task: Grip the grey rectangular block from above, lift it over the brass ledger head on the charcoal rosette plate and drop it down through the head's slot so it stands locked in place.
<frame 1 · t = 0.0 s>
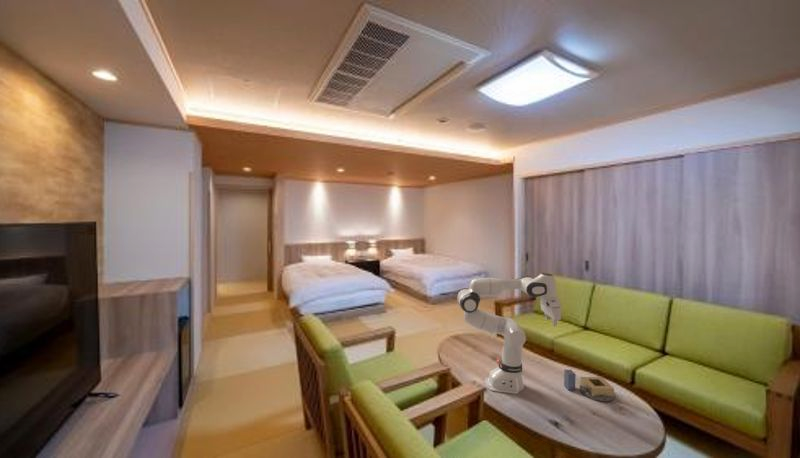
hand: (551, 322, 185), 39 cm above the table, tool pointing down, fingers open, 8 cm apart
rosette plate: (596, 392, 179), on the table
grey rectangular block: (569, 388, 184), on the table
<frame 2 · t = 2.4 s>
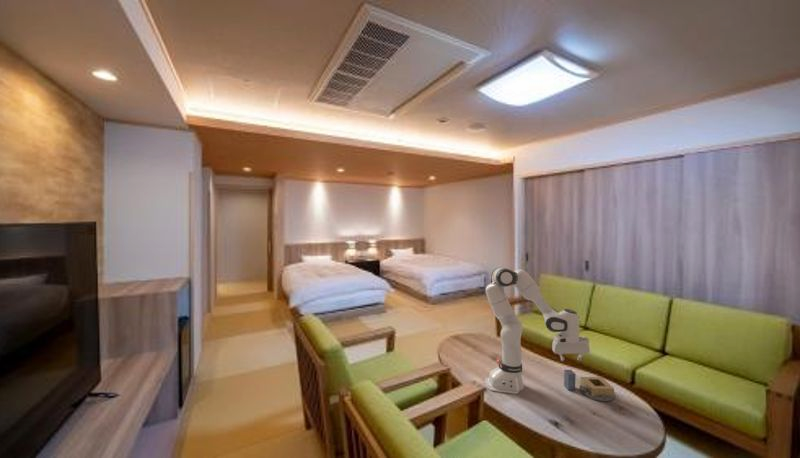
hand: (570, 360, 183), 17 cm above the table, tool pointing down, fingers open, 8 cm apart
nothing on the table moved.
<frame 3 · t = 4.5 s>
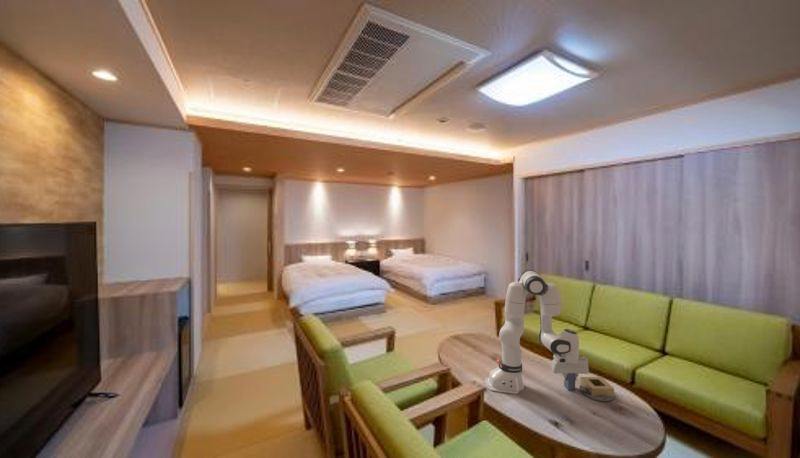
hand: (569, 379, 184), 5 cm above the table, tool pointing down, fingers closed on grey rectangular block, 4 cm apart
grey rectangular block: (569, 388, 184), on the table, touching gripper
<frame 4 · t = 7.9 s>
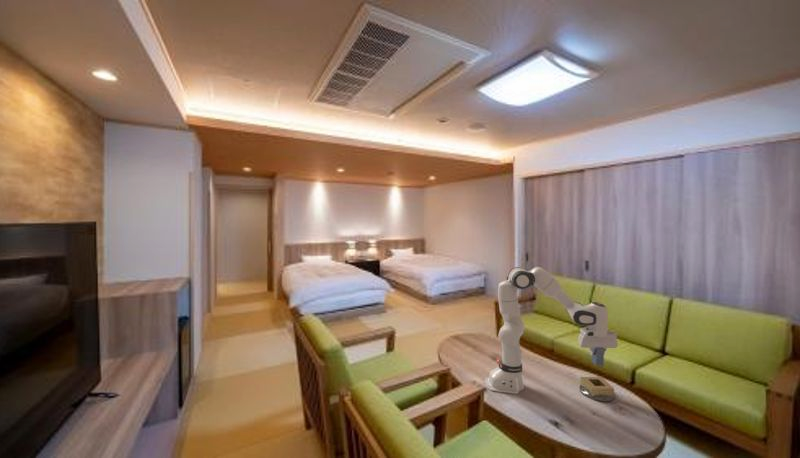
hand: (597, 354, 178), 23 cm above the table, tool pointing down, fingers closed on grey rectangular block, 4 cm apart
grey rectangular block: (597, 363, 178), point 18 cm above the table, touching gripper
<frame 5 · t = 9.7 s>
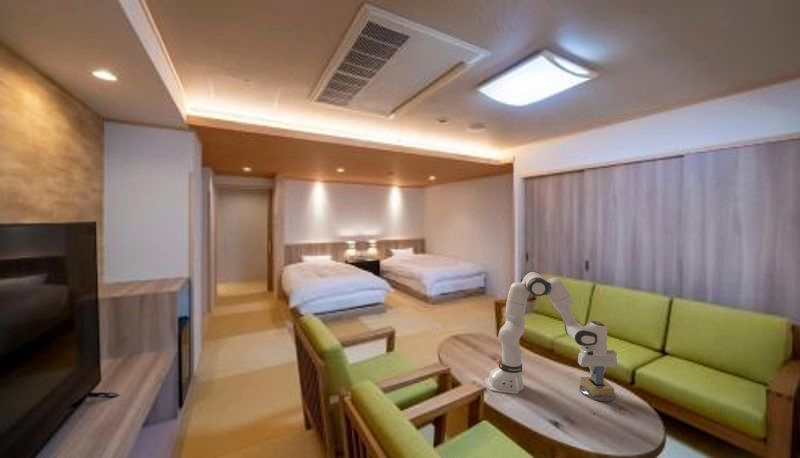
hand: (597, 373, 178), 12 cm above the table, tool pointing down, fingers closed on grey rectangular block, 4 cm apart
grey rectangular block: (597, 382, 179), point 7 cm above the table, touching gripper
when the fingers open (8 cm above the table, at t = 11.2 s): grey rectangular block drops 2 cm, resting on rosette plate.
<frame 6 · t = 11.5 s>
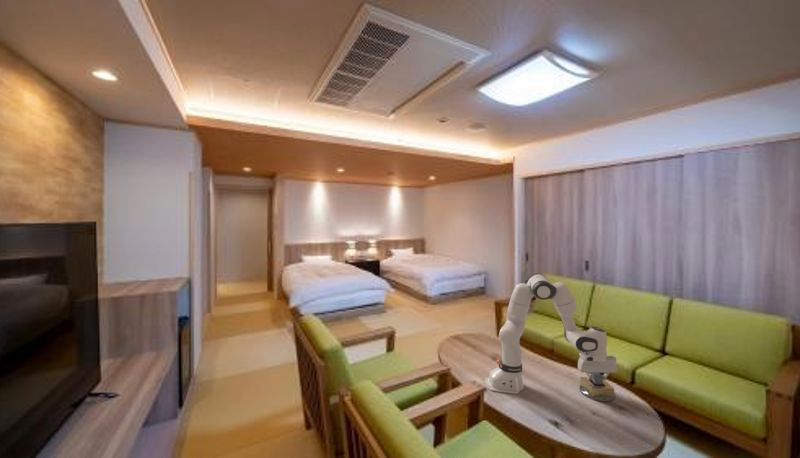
hand: (596, 379, 179), 8 cm above the table, tool pointing down, fingers open, 7 cm apart
grey rectangular block: (596, 390, 179), point 1 cm above the table, touching rosette plate
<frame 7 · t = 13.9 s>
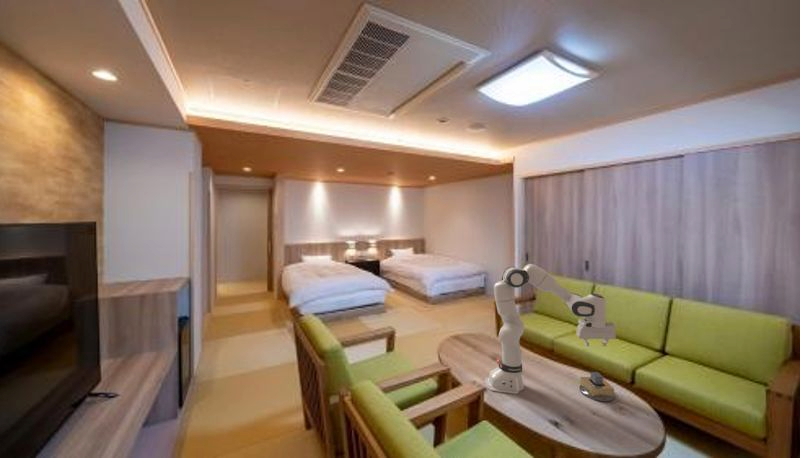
hand: (595, 345, 179), 27 cm above the table, tool pointing down, fingers open, 8 cm apart
nothing on the table moved.
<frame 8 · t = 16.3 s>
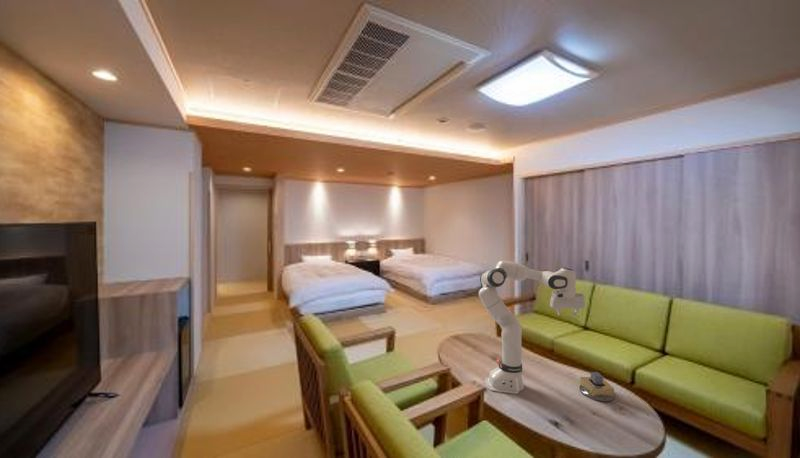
hand: (567, 315, 197), 39 cm above the table, tool pointing down, fingers open, 8 cm apart
nothing on the table moved.
at the end: grey rectangular block 0.2 cm off-centre on the rosette plate, point 1.2 cm above the rosette plate's base; grey rectangular block tilted 0°; the gripper is holding nothing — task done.
